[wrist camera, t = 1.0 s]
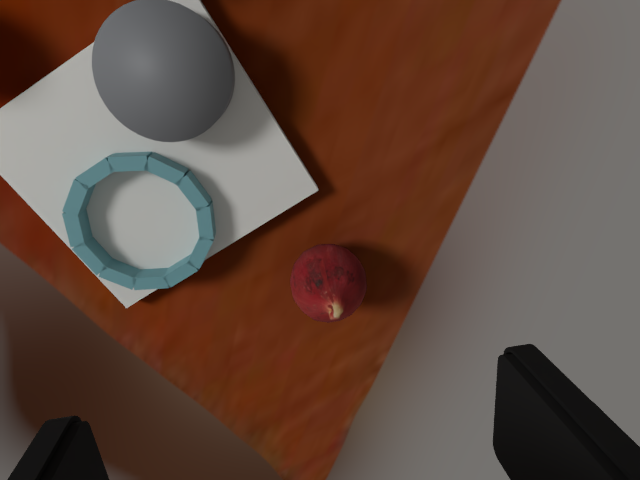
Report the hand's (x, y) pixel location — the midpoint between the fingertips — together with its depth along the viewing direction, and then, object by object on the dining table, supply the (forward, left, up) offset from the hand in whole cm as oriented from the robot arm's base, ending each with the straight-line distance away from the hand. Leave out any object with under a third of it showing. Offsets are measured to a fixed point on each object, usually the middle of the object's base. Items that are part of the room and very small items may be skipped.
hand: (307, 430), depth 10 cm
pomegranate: (+1, +8, -26) cm, 27 cm away
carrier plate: (+7, -6, -26) cm, 27 cm away
